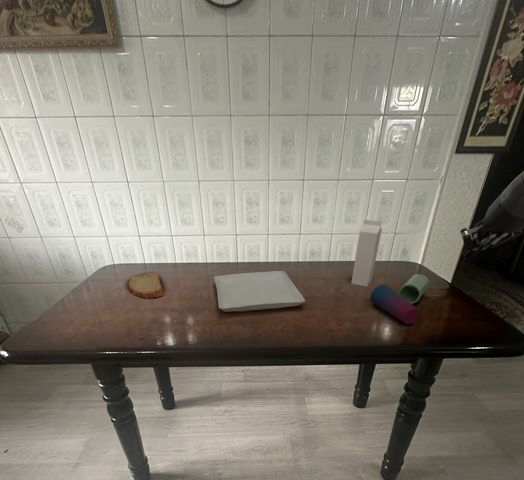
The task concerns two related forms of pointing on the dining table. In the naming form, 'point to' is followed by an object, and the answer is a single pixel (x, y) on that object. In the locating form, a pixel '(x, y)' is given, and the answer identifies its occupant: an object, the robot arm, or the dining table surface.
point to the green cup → (414, 288)
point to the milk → (366, 252)
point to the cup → (394, 304)
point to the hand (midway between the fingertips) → (466, 256)
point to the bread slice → (146, 285)
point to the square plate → (256, 291)
